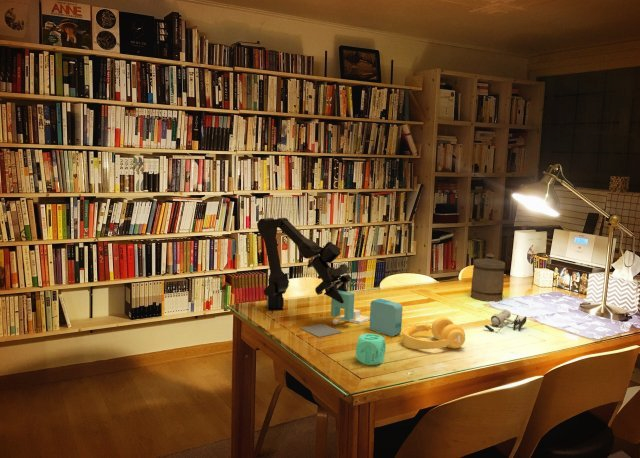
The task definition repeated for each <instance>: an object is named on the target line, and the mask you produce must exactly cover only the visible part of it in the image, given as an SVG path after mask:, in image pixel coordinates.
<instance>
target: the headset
mask: <svg viewBox="0 0 640 458" xmlns="http://www.w3.org/2000/svg"><path fill="white" fill-rule="evenodd" d="M430 330H431V334H432V336H433V337H434V338H435V339H436V340H426V339H422V338H416V337H414V336H412V335H413V334H416V333H421V332H425V331H426V332H429V331H430ZM401 334H402V344H403V346H404V347H406V348H408V349H413V350H433V349H441V348H445V347H446V348H449V349H458V348H460V347H462V346H463V345H464V343H465V341H466V332H465V331H464V329H463V328H462V326H461V325H459V324H457V323H454V321H452V320H451V319H450V318H448V317H443V316H442V317H439V318H436V319H435V320H433V322H432V324H431V325H430V324H429V325H428V324H417V325H413V326H409V327H406V328H403V329H402V330H401Z"/></svg>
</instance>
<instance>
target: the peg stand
mask: <svg viewBox="0 0 640 458" xmlns="http://www.w3.org/2000/svg"><path fill="white" fill-rule="evenodd" d="M361 312H362V310H361V309H356V308H354V314H353V319H350V320H344V314H342V315H339V316H338V317H339V318H335V319H332V324H333V325H337V324H339V322H342V321H346V322H350V323H354V324H358V325H361V324H363V323H366V322H368V321H370V316H367V315H362V314H361Z"/></svg>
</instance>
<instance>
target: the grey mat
mask: <svg viewBox="0 0 640 458" xmlns="http://www.w3.org/2000/svg"><path fill="white" fill-rule="evenodd" d="M299 329H300V330H302V331H304V332H306V333H308V334H311V335H313V336H315V337H317V338H324V337H329V336H332V335H337V334H342V333H343V331H342V330H339V329H336V328H334V327H331V326H329V325H327V324H325V323H320V324H319V323H318V324H313V325H309V326H304V327H300V328H299Z"/></svg>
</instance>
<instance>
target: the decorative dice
mask: <svg viewBox="0 0 640 458" xmlns="http://www.w3.org/2000/svg"><path fill="white" fill-rule="evenodd" d="M386 347H387V345H386V339H385V338H384V337H383V336H382V335H380V334H376V333H363V334H361V335H359V336H358V339H357V342H356V347H355V357H356V359H357V360H358V361H359V363H360V364H363V365H366V366H367V365H368V366H376V365H377V366H378V365H380V364H382V363H383V362H384V358H385V355H386Z"/></svg>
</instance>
